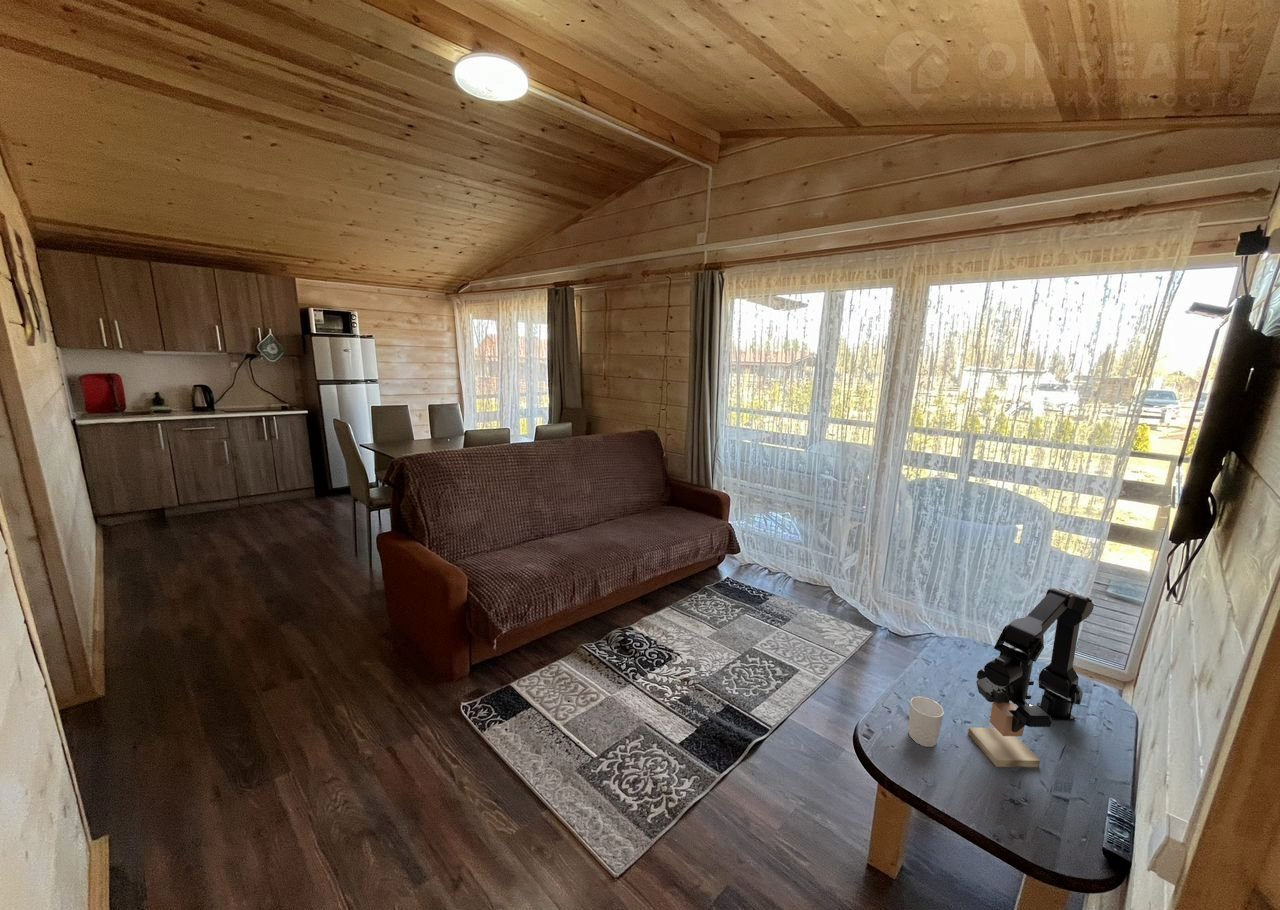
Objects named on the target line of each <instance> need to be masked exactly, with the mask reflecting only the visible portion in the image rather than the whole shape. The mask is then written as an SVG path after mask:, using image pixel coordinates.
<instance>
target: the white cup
mask: <svg viewBox="0 0 1280 910" xmlns="http://www.w3.org/2000/svg"><path fill="white" fill-rule="evenodd" d="M909 704H910V705H909V714H908V715H909V717H908V720H909V721H908V724H909V725H908V735H909V738H910V737H911V738H912V739H913V740H914V741H915V742H914V741H913V740H912V739H911V738H910V739H911V740H912V741H913V742H914V743H916V744H918V745H919V744H920V745H919V746H922V747H925V748H933V747H935V746H936V745H937V742H938V738H939V735H940V732H941V727H942V723H943V719H944V714H945V712H944V711H945V710H944V708H943V707H942V706H941V705H940V703H938V702H936V701H935V700H933V699H931V698H928V697H925V696H914V697H912V698H911V699H910V703H909Z"/></svg>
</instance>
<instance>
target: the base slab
mask: <svg viewBox="0 0 1280 910" xmlns="http://www.w3.org/2000/svg"><path fill="white" fill-rule="evenodd" d="M967 734H968V736H969V737H970V738H971V739H972V741H973V742H974V743H975V744H976V745H977V747H978V748H980V750H981V751H982V752H983V753H984V755H985V756H987V758H988V760H990V762H991V763H992V764H993V765H994V766H995V767H996V768H1040V765H1041V764H1040V763H1041V760H1040V759H1039V757H1038V756H1037V755H1036V754H1035V753H1034V752H1033V751H1031V749H1030V748H1029V747H1027V744H1025V743H1024V742H1023V741H1022V740H1021V739H1020V738H1019V736H1002V734H1001V733H1000V732H999V731H998V730H997V729H996V728H995V727H968V731H967Z"/></svg>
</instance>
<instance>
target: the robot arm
mask: <svg viewBox="0 0 1280 910" xmlns="http://www.w3.org/2000/svg"><path fill="white" fill-rule="evenodd" d="M1094 605H1095V604H1094V603H1093V600H1092V599H1090V597H1088V596H1086V595H1085V596H1084V595H1082V594H1079V593H1076V592H1073V591H1070V590H1068V589H1065V588H1062V587H1061V588H1059V589H1058V588H1057V587H1056V588H1055V587H1049V588H1048V589H1047V591H1046V594H1045V597H1044V598H1042V599H1041V600H1040V602H1039V603H1038V604H1037V605H1036V606H1035V607H1034V608H1033V609H1032V610H1031V611H1030V612H1029V613H1028V614H1027V615H1026V616H1024V617H1021V618H1015V619H1014V620H1012V621H1011V622H1010V623H1009V624H1006V625H1005V626H1004V627H1003V629H1002V630H1001V632H1000V634H999V636H998V639H997V641H996V643H995V645H994V647H993V649H994V650H996V651H998V652H1000V653H999V656H997V657H995V658H994V659H992V660H991V661H989V662H987V663H986V664H985V665H984V667H983V668H980V670H978V671H977V674H976V686H977V690H978V691H977V692H978V693H979V694H980V695H981V696H982V697H983V698H984V700H985V701H987V702H989V703H999V704H1000V703H1013V704H1014V705H1015V706H1016V707H1017V709H1016V710H1009V712H1010V713H1011V714H1012V715H1013V719H1012V731H1013V732H1018V731H1019V730H1020V729H1021V728H1023V727H1024V728H1025V726H1027V727H1028V728H1051V727H1052V721H1053V720H1055V721H1059V720H1060V721H1070V720H1071V721H1075V720H1076V717H1075V716H1074V715H1073V714H1072V712H1073V711H1072V710H1073V707H1074V706H1075V705H1081V703H1082V699H1083V695H1084V693H1083V691H1082V688H1081V687H1080V686H1079V675H1078V674H1077V672H1076V670H1075V669H1074V660H1075V654H1076V648H1077V643H1078V635H1079V630H1080V624H1081V623H1082V622H1083V621H1085V620H1086V619H1087V618H1089V617H1090V615H1091V614H1092V613H1093V610H1094ZM1055 622H1056V625H1055V626H1056V627H1055V632H1054V639H1053V644H1052V645H1053V646H1052V652H1051V659H1050V663H1049V664H1048V665H1046V666H1045V667H1044V668H1042V669H1041V671H1040V673H1039V675H1038V688H1039V689H1040V690H1043V691H1044V692H1043V694H1042V696H1041V701H1040V702H1036V705H1032V704H1029V703H1028V702H1027V700H1031V698H1032V695H1031V694H1030V693H1029V686H1034V683H1035V681H1034V680H1033V679H1031V676H1032V670H1033V666H1034V662H1035V663H1036V662H1037V660H1038V658H1039V657H1040V655H1041V654H1042V652H1043V650H1044V648H1045V644H1044V643H1045V641H1044V640H1045V639H1044V634H1045V633H1046V632H1047V630H1049V628H1051V626H1053V624H1054V623H1055ZM1005 644H1007V645H1005ZM1008 645H1009V646H1010V647H1009V646H1008Z"/></svg>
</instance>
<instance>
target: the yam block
mask: <svg viewBox="0 0 1280 910" xmlns="http://www.w3.org/2000/svg"><path fill="white" fill-rule="evenodd" d="M1017 708H1018V706H1017V705H1016V704H1013V703H1012V702H1009V703H1000V704H999V703H994V702H992V707H991V712H990V718H989V723H990V725H992V726H993V728H996V729H997V730H998V731H999V732H1000V733H1001V734H1002V736H1017V737H1023V735H1024V729H1025V726H1024V727H1023V728H1021V729H1020V730H1019V731H1018V732H1013V731H1012V719H1013V715H1012V714H1011V713H1010V712H1009V710H1016V709H1017Z"/></svg>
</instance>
